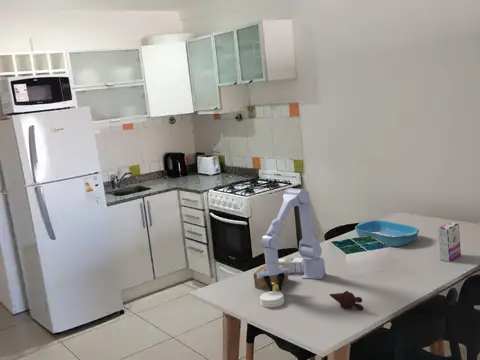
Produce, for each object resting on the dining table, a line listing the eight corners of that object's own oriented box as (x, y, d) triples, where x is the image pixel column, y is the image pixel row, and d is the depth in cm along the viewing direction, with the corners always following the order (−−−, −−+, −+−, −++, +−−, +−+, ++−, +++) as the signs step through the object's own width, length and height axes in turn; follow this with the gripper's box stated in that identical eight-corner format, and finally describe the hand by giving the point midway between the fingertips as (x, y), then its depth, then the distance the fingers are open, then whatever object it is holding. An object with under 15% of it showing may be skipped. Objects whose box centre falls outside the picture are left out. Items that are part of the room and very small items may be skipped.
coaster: (267, 310, 213) (266, 302, 212) (256, 302, 222) (256, 294, 222) (288, 303, 217) (287, 296, 216) (277, 296, 226) (276, 288, 225)
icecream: (323, 293, 207) (357, 303, 198) (333, 282, 212) (366, 291, 202) (326, 306, 210) (359, 317, 200) (335, 296, 215) (368, 305, 205)
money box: (288, 279, 243) (286, 265, 242) (279, 289, 233) (277, 275, 232) (264, 278, 248) (263, 264, 247) (255, 287, 238) (253, 273, 237)
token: (281, 292, 229) (279, 281, 228) (278, 295, 226) (276, 285, 225) (273, 291, 231) (271, 281, 230) (270, 295, 227) (268, 284, 227)
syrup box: (274, 273, 253) (303, 273, 249) (273, 262, 252) (302, 261, 248) (276, 269, 259) (305, 268, 254) (275, 257, 257) (304, 257, 253)
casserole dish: (428, 240, 276) (427, 227, 274) (400, 251, 264) (399, 238, 263) (375, 229, 306) (374, 217, 305) (348, 238, 295) (347, 226, 293)
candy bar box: (451, 253, 252) (449, 221, 249) (461, 255, 248) (459, 222, 245) (439, 260, 245) (437, 227, 242) (449, 262, 241) (448, 228, 238)
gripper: (285, 255, 231) (288, 284, 233) (253, 261, 228) (257, 290, 231) (289, 260, 224) (292, 290, 226) (257, 266, 221) (261, 296, 224)
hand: (275, 290), depth 228 cm, fingers closed on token, 4 cm apart
